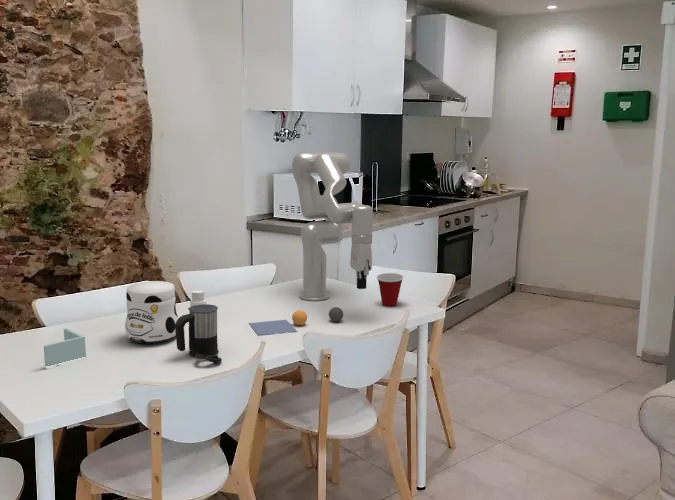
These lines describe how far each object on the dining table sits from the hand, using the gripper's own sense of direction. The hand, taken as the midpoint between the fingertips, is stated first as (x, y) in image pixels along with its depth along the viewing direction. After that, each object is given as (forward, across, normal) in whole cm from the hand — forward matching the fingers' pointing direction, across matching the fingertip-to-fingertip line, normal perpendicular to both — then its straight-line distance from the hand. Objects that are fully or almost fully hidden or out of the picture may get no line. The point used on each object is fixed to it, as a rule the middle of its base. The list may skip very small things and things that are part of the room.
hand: (361, 288), depth 239 cm
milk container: (+12, -2, -75) cm, 76 cm away
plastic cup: (+12, -15, +18) cm, 26 cm away
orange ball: (+9, -1, -24) cm, 25 cm away
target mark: (+12, -1, -34) cm, 36 cm away
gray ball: (+9, -1, -10) cm, 13 cm away
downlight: (+11, -21, -57) cm, 61 cm away
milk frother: (+12, +21, -61) cm, 65 cm away
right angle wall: (+12, +8, -104) cm, 105 cm away
